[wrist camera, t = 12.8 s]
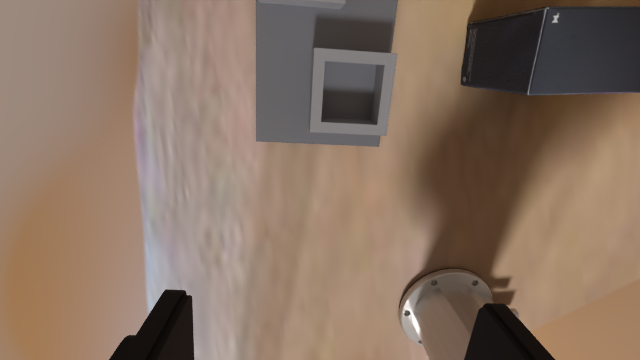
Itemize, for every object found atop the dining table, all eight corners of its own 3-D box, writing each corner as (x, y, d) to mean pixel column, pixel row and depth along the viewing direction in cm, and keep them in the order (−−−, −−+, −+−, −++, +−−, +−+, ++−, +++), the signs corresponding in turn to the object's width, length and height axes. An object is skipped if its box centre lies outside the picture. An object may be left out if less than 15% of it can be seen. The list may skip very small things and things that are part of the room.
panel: (408, -102, 28) (425, -127, 24) (377, 144, 35) (386, 153, 32) (256, -121, 27) (251, -150, 23) (257, 139, 34) (253, 148, 30)
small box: (457, 89, 34) (525, 99, 24) (466, 21, 32) (544, 1, 22) (552, 87, 35) (655, 96, 25) (567, 20, 33) (686, 1, 23)
